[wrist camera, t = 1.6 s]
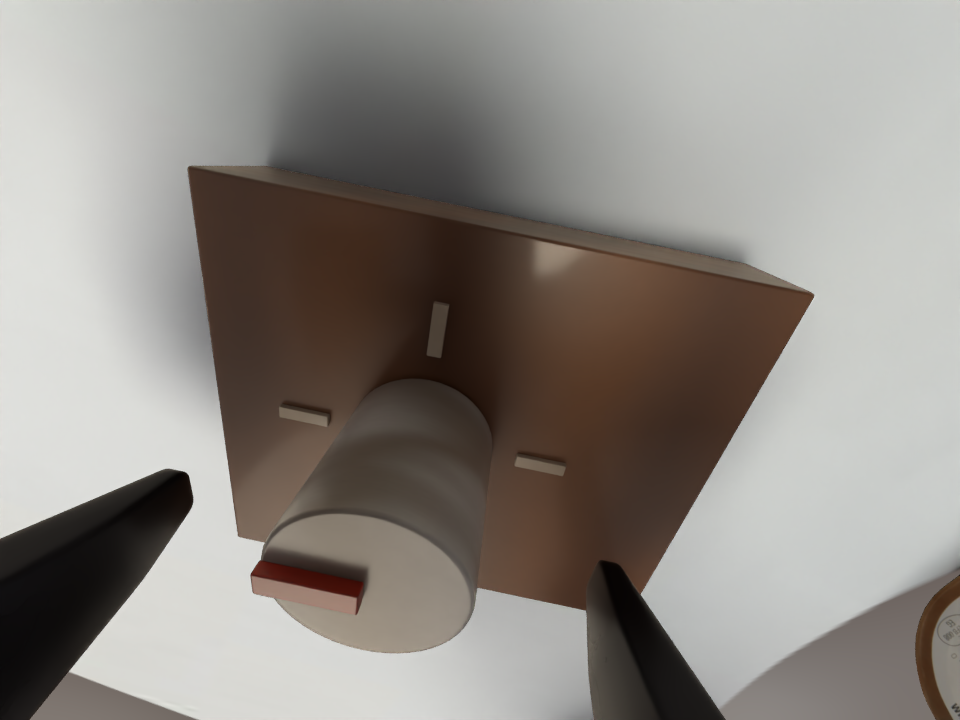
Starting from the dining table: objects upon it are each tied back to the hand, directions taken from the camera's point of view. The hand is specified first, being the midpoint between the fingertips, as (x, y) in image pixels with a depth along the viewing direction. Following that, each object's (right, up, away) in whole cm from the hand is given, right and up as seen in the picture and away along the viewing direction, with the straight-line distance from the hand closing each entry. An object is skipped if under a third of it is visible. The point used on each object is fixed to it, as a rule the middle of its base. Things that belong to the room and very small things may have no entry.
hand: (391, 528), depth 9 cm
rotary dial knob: (0, +1, +3) cm, 3 cm away
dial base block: (+2, +3, +5) cm, 6 cm away
